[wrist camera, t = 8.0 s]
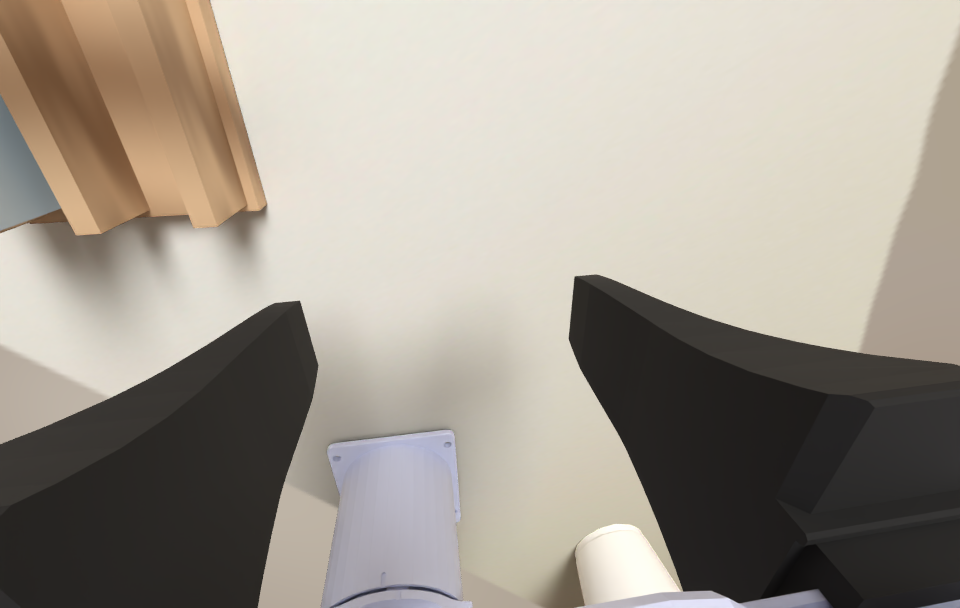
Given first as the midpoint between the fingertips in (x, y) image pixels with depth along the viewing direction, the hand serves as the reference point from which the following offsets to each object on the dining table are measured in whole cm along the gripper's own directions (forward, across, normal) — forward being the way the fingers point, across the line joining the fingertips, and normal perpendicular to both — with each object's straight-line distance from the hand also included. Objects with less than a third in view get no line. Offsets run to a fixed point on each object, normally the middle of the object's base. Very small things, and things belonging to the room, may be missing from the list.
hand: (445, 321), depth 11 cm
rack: (+10, +12, -6) cm, 16 cm away
